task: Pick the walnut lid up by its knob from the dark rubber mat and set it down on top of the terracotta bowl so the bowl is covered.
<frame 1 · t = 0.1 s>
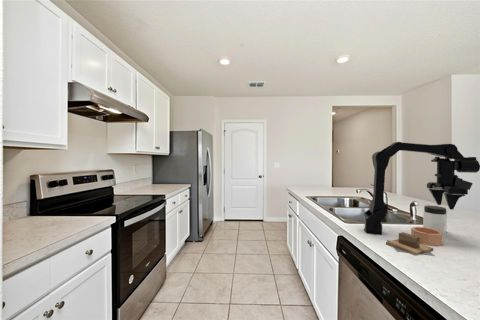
hand: (445, 207, 95), 15 cm above the table, tool pointing down, fingers open, 9 cm apart
bowl: (426, 242, 93), on the table
lid: (408, 247, 86), resting on mat
mat: (408, 248, 86), on the table
jar: (434, 231, 106), on the table
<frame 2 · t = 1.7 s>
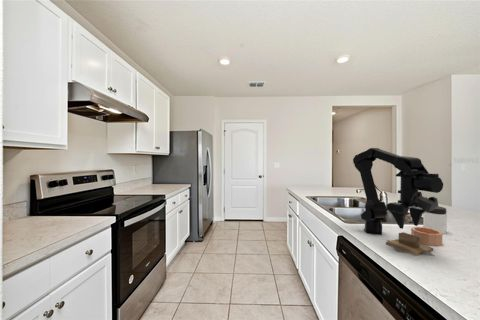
hand: (408, 227, 86), 9 cm above the table, tool pointing down, fingers open, 9 cm apart
nothing on the table moved.
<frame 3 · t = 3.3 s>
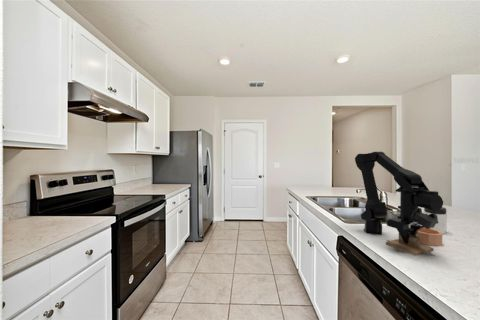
hand: (408, 242, 86), 2 cm above the table, tool pointing down, fingers closed on lid, 3 cm apart
lid: (408, 247, 86), resting on mat, touching gripper
everything else where it was.
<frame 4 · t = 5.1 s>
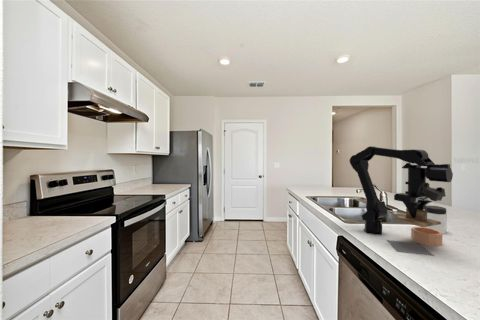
hand: (416, 217, 88), 12 cm above the table, tool pointing down, fingers closed on lid, 3 cm apart
lid: (416, 221, 88), point 10 cm above the table, touching gripper
everything else where it was.
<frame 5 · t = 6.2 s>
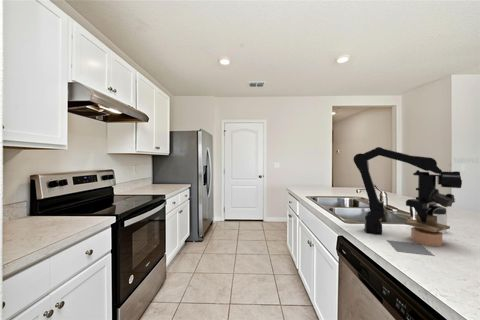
hand: (426, 222, 93), 9 cm above the table, tool pointing down, fingers closed on lid, 3 cm apart
lid: (426, 226, 92), point 7 cm above the table, touching gripper
everything else where it was.
when the fingers open (8 cm above the table, at t = 6.9 s): lid drops 1 cm, resting on bowl.
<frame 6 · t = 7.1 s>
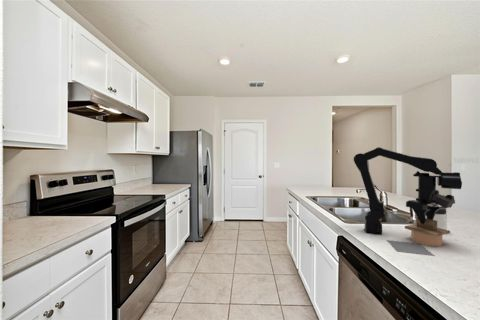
hand: (426, 223, 92), 8 cm above the table, tool pointing down, fingers open, 5 cm apart
lid: (426, 230, 92), point 5 cm above the table, touching bowl
everything else where it was.
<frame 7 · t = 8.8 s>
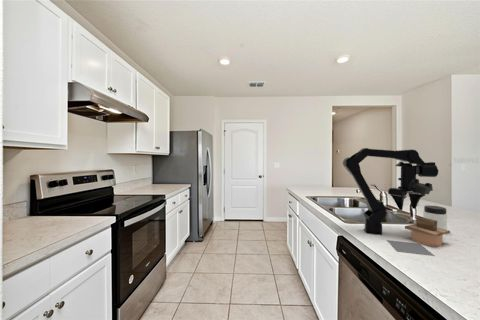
hand: (407, 209, 100), 12 cm above the table, tool pointing down, fingers open, 9 cm apart
nothing on the table moved.
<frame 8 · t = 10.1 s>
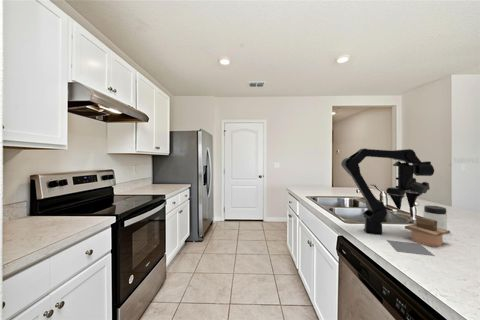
hand: (405, 208, 102), 13 cm above the table, tool pointing down, fingers open, 9 cm apart
nothing on the table moved.
at the end: lid 0.1 cm off-centre on the bowl, point 5.0 cm above the bowl's base; lid tilted 0°; the gripper is holding nothing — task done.
